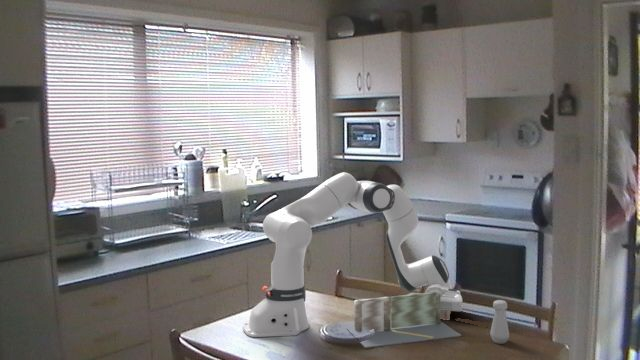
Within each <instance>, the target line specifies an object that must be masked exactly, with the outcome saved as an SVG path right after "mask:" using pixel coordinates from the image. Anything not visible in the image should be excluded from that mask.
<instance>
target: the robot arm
mask: <svg viewBox="0 0 640 360" xmlns="http://www.w3.org/2000/svg"><path fill="white" fill-rule="evenodd" d="M346 205H348V206H350V208H353V209H355V210H359V211H362V212H364V213H374V214H379V213H383V216H384V217H385V220H386V222H387V225H388V229H387V230H386V231H385V232H386V233H385V238H386V244H387V247H388V251H389V254H390V257H391V260H392V263H393V265H394V268H395V273H396V277H397V281H398V284H399V286H400V288H401V289H402V290H404V291H407V292H410V293H407V295H410V294H420V292H414V291H416V290H418V289H420V288H422V286H423V287H425V286H428V287H427V288H426V289H425V291H424V293H429V292H436V293H440V294H441V300H440V311H448V312H449V311H450V312H462V311H463V297H462V295H461V290H457V289H453V288H452V284H451V281H450V273H449V269H448V267H447V265H446V264H445V262H444V260H443V259H442V258H440V257H439V256H437V255H434V254H432V255H429V256H427V257H425V258H422V259H420V260H417V261H414V262H411V263H407V262H406V261H405V257H404V255H403V254H404V253H403V251H402V249H401V245H402V243H404V241H405V240H407V238H409V237H410V236H411V235H412V234H413V233H414V231H415V230H416V229H417V227H418V224H419V216H418V213H417V211H416V209H415V207H414V205H413V203H412V201H411V199H410V198H409V196H408V195H407V193H406V192H405V191H404V190H403V188H402V187H401V186H400V185H398V184H388V185H385V184H383V183H381V182H375V181H371V180H360V179H359V180H357V179H356V178H355V177H354V176H353V175H352V174H351V173H348V172H345V171H343V172H339V173H337V174H335V175H333V176H331V177H329V178H328V179H326V180H325V181H323V182H322V183H321V184H319V185H318V186H317V187H315V188H314V189H313V190H311V191H309V192H308V193H307V194H305V195H304V196H302V197H300V198H299V199H297V200H295V201H294V202H292V203H289V204H287V205H286V206H283V207H281V209H278V210H276V211H274V212H271V213H269V214H267V215H266V217H264V219H263V222H262V230H263V233H264V234H265V236H266V237H267V238H268V239H269V240H270V241H271V242H273V243H275V252H274V256H273V260H272V262H271V263H270V281H271V282H270V283H271V284H270V286H269V287H268V286H266V285H264V286H263V287H262V289H261V290H262V291H263V293H265V298H263V299H262V300H261V301H260V302H258V304H257V305H255V306H254V307H253V308H252V309H251V311H250V314H249V320H248V321H245V322H244V323H243V325H242V329H243V332H244V334H246V336H249V337H251V338H264V337H285V336H288V337H289V336H297V335H299V334H301V332H303V331H305V330H307V329H309V328H310V323H309V320H308V319H309V318H308V315H307V310H306V304H305V302H306V297H307V296H306V286H305V284H304V281H305V279H304V276H305V275H304V271H305V269H304V266H305V256H306V252H307V247H308V246H309V244H310V243H311V241H312V238H313V231H312V227H314V226H317V225H320V224H323V223H324V222H326V221H327V220H328V219H329V218H331V217H332V216H333V215H335V214H336V213H337V212H339V211H340V210H342V208H344V207H345V206H346Z"/></svg>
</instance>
